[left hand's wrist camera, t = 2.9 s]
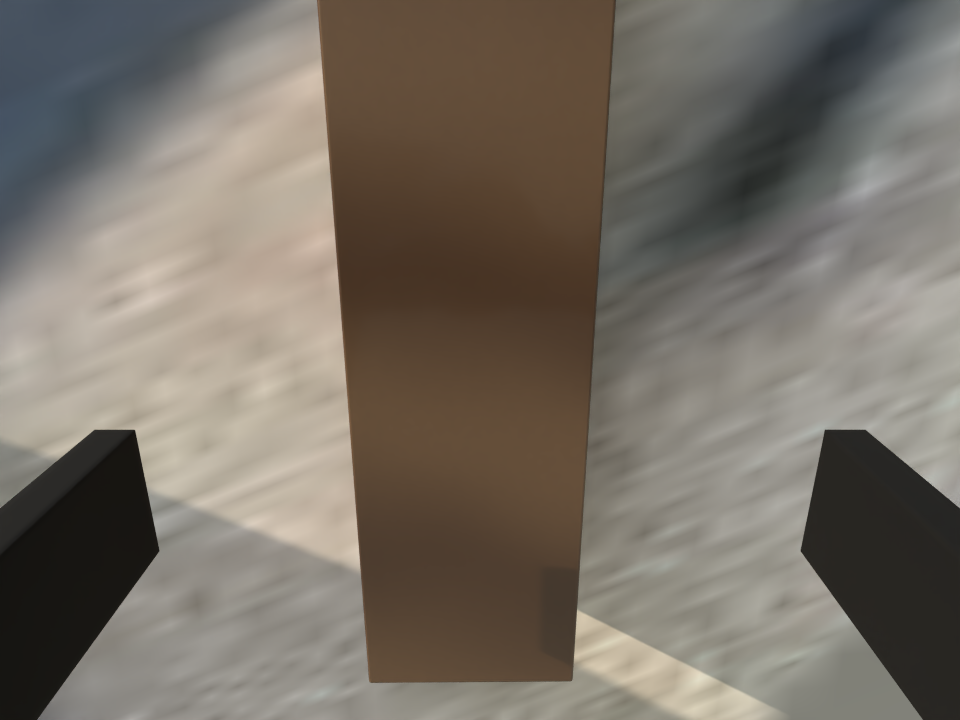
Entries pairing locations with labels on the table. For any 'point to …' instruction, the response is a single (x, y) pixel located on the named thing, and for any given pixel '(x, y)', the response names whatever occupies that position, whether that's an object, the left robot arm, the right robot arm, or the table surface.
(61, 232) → the table surface
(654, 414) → the table surface
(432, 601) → the bar
